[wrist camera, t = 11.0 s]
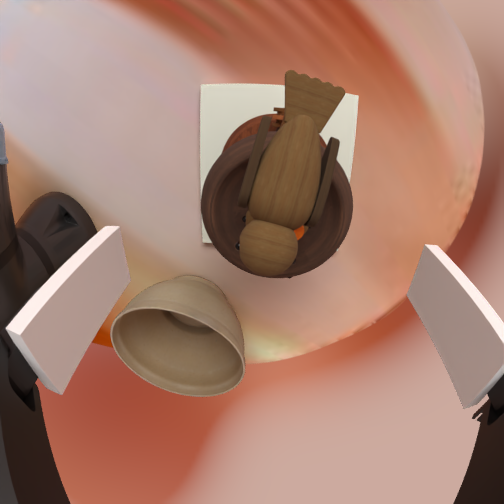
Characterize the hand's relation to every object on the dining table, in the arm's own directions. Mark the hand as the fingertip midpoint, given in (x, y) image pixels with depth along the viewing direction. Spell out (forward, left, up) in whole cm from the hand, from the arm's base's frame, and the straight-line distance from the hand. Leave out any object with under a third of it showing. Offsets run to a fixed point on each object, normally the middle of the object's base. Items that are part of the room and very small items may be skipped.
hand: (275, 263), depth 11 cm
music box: (0, 0, -19) cm, 19 cm away
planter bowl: (-10, -19, -20) cm, 29 cm away
